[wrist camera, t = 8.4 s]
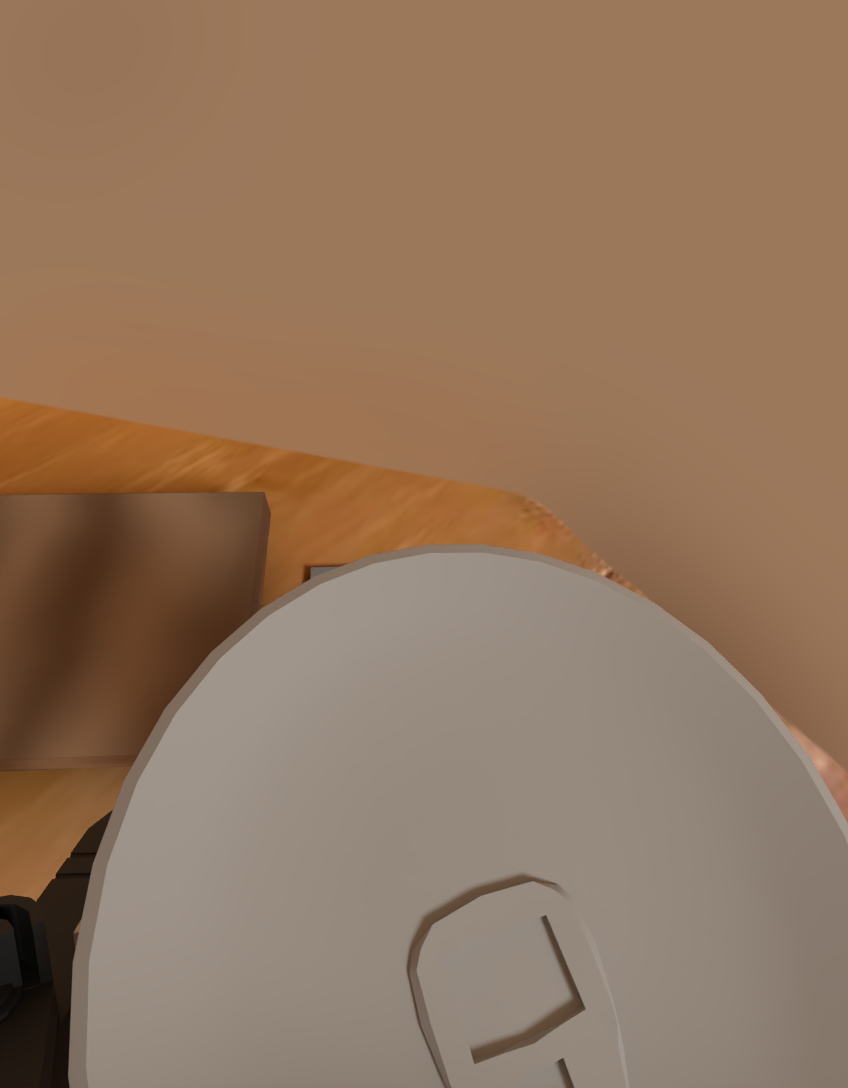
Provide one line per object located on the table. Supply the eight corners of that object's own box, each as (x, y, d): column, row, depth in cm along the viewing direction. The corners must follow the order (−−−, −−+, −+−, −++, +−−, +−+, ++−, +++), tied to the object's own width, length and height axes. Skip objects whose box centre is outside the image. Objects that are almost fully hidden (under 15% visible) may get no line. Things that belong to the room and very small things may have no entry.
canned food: (390, 1236, 12) (391, 2343, 3) (215, 864, 15) (-60, 770, 6) (653, 962, 15) (1119, 1029, 5) (455, 695, 18) (525, 448, 9)
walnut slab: (-122, 791, 27) (-216, 767, 23) (-23, 548, 34) (-81, 495, 30) (257, 776, 28) (233, 750, 24) (279, 543, 35) (264, 492, 31)
